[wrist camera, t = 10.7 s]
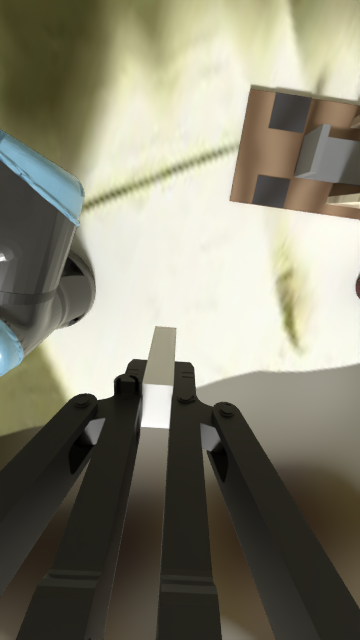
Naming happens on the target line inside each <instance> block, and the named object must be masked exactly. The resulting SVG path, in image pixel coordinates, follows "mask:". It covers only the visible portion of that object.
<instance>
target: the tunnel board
mask: <svg viewBox="0 0 360 640" xmlns="http://www.w3.org/2000/svg"><path fill="white" fill-rule="evenodd" d="M322 124H329V125H331V128H330V132H329V135H328V137H332V138H338V139H345V140H352V141H358V142H360V106H356V105H350V104H344V103H337V102H331V101H324V100H318V99H312V98H309V97H302V96H296V95H289V94H283V93H277V92H276V93H273V92H267V91H260V90H254V89H251V90H250V93H249V99H248V104H247V110H246V115H245V120H244V126H243V131H242V136H241V142H240V147H239V153H238V158H237V163H236V169H235V174H234V180H233V185H232V190H231V196H230V201H232V202H239V203H246V204H254V205H261V206H268V207H275V208H282V209H289V210H296V211H303V212H310V213H317V214H324V215H331V216H338V217H345V218H352V219H359V220H360V187H359V186H352V185H345V184H338V183H331V182H325V181H318V180H311V179H304V178H297V177H294V174H295V171H296V167H297V163H298V159H299V156H300V152H301V148H302V144H303V141H304V137H305V135H307V134H308V133H310V132H312V131H313V130H315V129H316V128H318V127H319V126H321V125H322Z"/></svg>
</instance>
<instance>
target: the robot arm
mask: <svg viewBox="0 0 360 640" xmlns="http://www.w3.org/2000/svg"><path fill="white" fill-rule="evenodd" d="M83 202H84V189H83V186H82V184H81V183H80V181H79V180H78V179H77V178H76V177H75V176H73V175H72V174H70V173H69V172H67V171H66V170H64V169H63V168H61V167H59V166H58V165H56V164H55V163H53V162H52V161H50V160H48V159H47V158H45V157H44V156H42V155H41V154H39V153H37V152H36V151H34V150H33V149H31V148H29V147H28V146H26V145H25V144H23V143H22V142H20V141H18V140H17V139H15V138H14V137H12V136H10V135H9V134H7V133H6V132H4V131H3V130H1V129H0V376H2V375H4V374H5V373H6V372H8V371H9V370H11V369H12V368H14V367H16V366H17V365H19V364H20V363H21V361H22V360H23V359H24V358H25V357H26V356H27V355H28V354H29V353H30V352H31V351H32V350H33V349H35V348H36V347H37V346H38V345H39V344H40V343H41V342H42V341H43V340H44V339H45V338H46V337H48V336H49V335H50V334H51V333H52V332H53V331H54V330H56V329H60V328H64V327H68V326H71V325H73V324H75V323H77V322H78V321H80V320H81V319H82V318H83V317H84V316H85V315H86V314H87V313H88V312H89V311H90V309H91V307H92V305H93V303H94V299H95V283H94V279H93V277H92V274H91V272H90V270H89V269H88V267H87V266H86V264H85V263H84V262H83V261H82V260H81V259H80V258H79V257H78V256H77V255H76V254H75V253H73V252H72V251H70V247H71V244H72V240H73V237H74V234H75V231H76V228H77V227H79V225H80V223H79V217H80V213H81V209H82V205H83ZM175 345H176V328H171V327H157V326H155V331H154V335H153V339H152V344H151V348H150V352H149V357H148V360H140V359H133V360H132V361H131V362H130V363H129V364H128V366H127V370H126V372H125V374H122V375H119V376H118V377H116V378H115V380H114V396H112V397H110V398H107V399H102V400H97V398H96V397H95V396H94V395H92V394H86V393H85V394H79V395H77V396H74V397H73V398H72V399H70V400H69V401H68V402H67V403H66V404H65V405H64V406H63V407H62V408H61V409H60V410H59V412H58V413H57V414H56V415H55V416H54V417H53V418H52V419H51V420H50V421H49V422H48V423H47V424H46V425H45V426H44V427H43V428H42V429H41V430H40V431H39V432H38V433H37V434H36V435H35V436H34V437H33V438H32V439H31V440H30V441H29V442H28V443H27V444H26V445H25V446H24V447H23V449H22V450H21V451H20V452H19V453H18V454H17V455H16V456H15V457H14V458H13V459H12V460H11V461H10V462H9V463H8V464H7V465H6V466H5V467H4V468H3V469H2V470H1V471H0V597H1V595H2V593H3V592H4V590H5V589H6V587H7V586H8V584H9V583H10V581H11V580H12V578H13V577H14V575H15V574H16V572H17V570H18V569H19V567H20V566H21V564H22V563H23V561H24V560H25V558H26V557H27V555H28V553H29V552H30V551H31V549H32V547H33V546H34V544H35V543H36V541H37V540H38V538H39V537H40V535H41V534H42V532H43V531H44V529H45V528H46V526H47V524H48V523H49V521H50V520H51V518H52V517H53V515H54V514H55V512H56V511H57V509H58V508H59V506H60V504H61V503H62V501H63V500H64V498H65V497H66V495H67V494H68V492H69V491H70V489H71V488H72V486H73V485H74V483H75V482H76V480H77V478H78V477H79V475H80V474H81V472H82V471H83V469H84V467H85V466H86V465H87V463H88V462H89V460H90V462H89V465H88V468H87V470H86V473H85V476H84V478H83V481H82V484H81V487H80V490H79V492H78V495H77V498H76V501H75V504H74V506H73V509H72V511H71V514H70V517H69V520H68V522H67V525H66V528H65V530H64V534H63V536H62V539H61V541H60V544H59V547H58V550H57V552H56V555H55V558H54V561H53V563H52V566H51V568H50V570H49V572H48V574H46V575H45V576H44V577H43V578H42V579H41V580H40V582H39V584H38V585H37V588H36V590H35V592H34V594H33V597H32V599H31V602H30V604H29V607H28V610H27V612H26V615H25V617H24V620H23V623H22V625H21V628H20V630H19V633H18V636H17V638H16V640H104V635H105V625H106V619H107V612H108V606H109V602H110V596H111V591H112V585H113V579H114V574H115V569H116V563H117V558H118V552H119V547H120V542H121V536H122V531H123V525H124V520H125V515H126V509H127V504H128V498H129V493H130V487H131V481H132V477H133V471H134V466H135V460H136V454H137V449H138V444H139V438H140V426H142V427H157V428H169V438H168V455H167V471H166V486H165V503H164V518H163V534H162V550H161V565H160V581H159V597H158V613H157V627H156V640H222V635H221V624H220V613H219V603H218V595H217V589H216V586H215V584H214V582H213V576H212V566H211V554H210V541H209V528H208V517H207V504H206V492H205V480H204V467H203V454H202V448H203V449H206V450H207V455H208V458H209V460H210V463H211V466H212V468H213V471H214V474H215V477H216V479H217V482H218V484H219V487H220V490H221V493H222V495H223V498H224V501H225V504H226V506H227V509H228V512H229V514H230V517H231V520H232V522H233V525H234V528H235V531H236V533H237V536H238V539H239V542H240V544H241V547H242V550H243V552H244V555H245V558H246V560H247V563H248V566H249V569H250V571H251V574H252V577H253V579H254V582H255V585H256V587H257V590H258V593H259V596H260V598H261V601H262V604H263V606H264V609H265V612H266V615H267V617H268V620H269V623H270V625H271V628H272V631H273V633H274V636H275V639H276V640H360V609H359V607H358V605H357V604H356V602H355V601H354V599H353V597H352V596H351V594H350V592H349V590H348V589H347V587H346V586H345V584H344V582H343V581H342V579H341V577H340V576H339V574H338V572H337V571H336V569H335V567H334V566H333V564H332V562H331V561H330V559H329V557H328V556H327V554H326V553H325V551H324V549H323V548H322V546H321V544H320V543H319V541H318V539H317V538H316V536H315V534H314V533H313V531H312V529H311V528H310V526H309V524H308V523H307V521H306V520H305V518H304V516H303V514H302V513H301V511H300V510H299V508H298V506H297V505H296V503H295V501H294V500H293V498H292V496H291V495H290V493H289V492H288V490H287V488H286V486H285V485H284V483H283V481H282V480H281V478H280V477H279V475H278V473H277V472H276V470H275V468H274V467H273V465H272V463H271V462H270V460H269V459H268V457H267V455H266V453H265V452H264V450H263V449H262V447H261V445H260V443H259V442H258V440H257V439H256V437H255V435H254V434H253V432H252V430H251V429H250V427H249V425H248V424H247V422H246V420H245V419H244V417H243V416H242V414H241V412H240V410H239V409H238V408H237V407H236V406H235V405H233V404H231V403H228V402H219V403H217V404H216V405H214V407H212V406H208V405H206V404H204V403H202V402H201V401H200V400H199V399H198V398H197V396H196V387H195V374H194V367H193V365H192V364H191V363H190V362H176V361H175Z"/></svg>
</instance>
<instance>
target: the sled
mask: <svg viewBox="0 0 360 640" xmlns="http://www.w3.org/2000/svg"><path fill="white" fill-rule="evenodd" d="M330 128H331V125H329V124H322V125H321V126H319V127H318V128H316V129H315V130H313V131H312V132H310V133H308V134H307V135H305V137H304V141H303V144H302V148H301V152H300V156H299V159H298V163H297V167H296V171H295V174H294V177H297V178H304V179H311V180H318V181H325V182H331V183H338V184H345V185H352V186H359V187H360V142H358V141H352V140H345V139H338V138H332V137H328V135H329V132H330Z"/></svg>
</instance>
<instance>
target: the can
mask: <svg viewBox="0 0 360 640" xmlns="http://www.w3.org/2000/svg"><path fill="white" fill-rule="evenodd" d="M356 294H357V296H358V297H359V299H360V279H359V280H358V282H357V285H356Z"/></svg>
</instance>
